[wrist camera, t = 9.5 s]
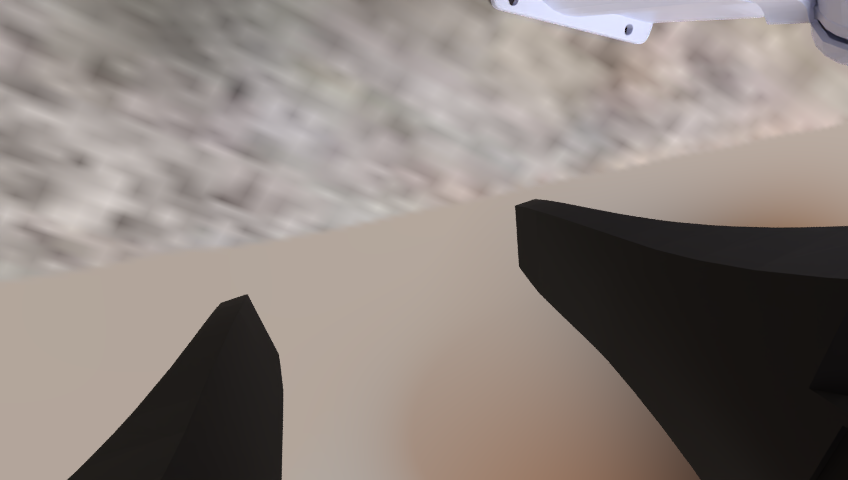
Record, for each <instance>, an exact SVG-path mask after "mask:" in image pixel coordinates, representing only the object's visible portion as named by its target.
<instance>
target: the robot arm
mask: <svg viewBox="0 0 848 480" xmlns="http://www.w3.org/2000/svg"><path fill="white" fill-rule="evenodd" d="M491 3H492V5H493V7H494V8H495V9H497V10H500V11H504V12H508V13H512V14H516V15H520V16H524V17H528V18H532V19H536V20H540V21H544V22H548V23H552V24H556V25H560V26H564V27H569V28H573V29H577V30H581V31H585V32H589V33H593V34H597V35H601V36H605V37H609V38H613V39H617V40H621V41H625V42H629V43H633V44H642V43H644V42H645V41H646V40H647V38H648V36H649V34H650V31H651V28H652V26H653V23H661V22H681V21H702V20H722V19H743V18H759V17H765V19H766V22H767V24H793V23H811V32H812V37H813V40H814V43H815V45H816V47H817V48H818V49H819V50H820V51H821V52H822V53H823V54H824V55H825V56H827V57H828V58H830V59H832V60H834V61H835V62H837V63H840V64H844V65H847V66H848V0H514V3H513V5H512V6H511V5H510V4H509V0H491ZM626 26H627V31H626V33H625V28H626ZM515 210H516V226H517V242H518V257H519V267H520V269H521V270H522V271H523V273H524V274H525V275H526V277H527V278H528V279H529V281H530V282H531V283H532V285H533V286H534V287H535V288H536V289H537V291H538V292H539V293H540V294H541V295H542V296H543V297H544V298H545V299H546V300H547V301H548V302H549V303H550V304H551V305H552V306H553V307H554V308H555V309H556V310H557V311H558V312H559V313H560V314H561V315H562V316H563V317H564V318H565V319H567V321H568V322H570V324H572V325H573V326H574V327H575V328H576V329H577V330H578V331H579V332H580V333H581V334H582V335H583V336H584V337H585V338H586V339H587V340H588V341H589V342H590V343H591V344H592V345H593V346H594V347H596V349H597V350H598V351H599V352H600V353H601V354H602V355H603V356H604V357H605V358H606V359H607V360H608V361H609V362H610V364H611V365H612V366H613V367H614V368H615V370H616V371H617V372H618V373H619V374H620V376H621V377H622V378H623V379H624V380H625V381H626V383H627V384H628V385H629V386H630V387H631V389H632V390H633V391H634V392H635V393H636V394H637V396H638V397H639V398H640V399H641V401H642V402H643V404H644V405H645V406H646V407H647V409H648V410H649V411H650V412H651V414H652V415H653V416H654V417H655V419H656V420H657V421H658V422H659V424H660V425H661V426H662V428H663V429H664V430H665V432H666V433H667V434H668V436H669V437H670V438H671V439H672V441H673V442H674V444H675V445H676V446H677V448H678V449H679V450H680V452H681V453H682V454H683V456H684V457H685V458H686V460H687V461H688V462H689V464H690V465H691V466H692V468H693V469H694V471H695V472H696V474H697V475H698V476H699V478H700V479H701V480H848V226H838V227H804V228H803V227H801V228H768V227H731V226H715V225H702V224H690V223H680V222H679V223H678V222H670V221H662V220H655V219H648V218H641V217H635V216H629V215H623V214H617V213H612V212H607V211H601V210H596V209H591V208H586V207H581V206H576V205H570V204H566V203H560V202H554V201H548V200H538V199H534V200H531V201H528V202H525V203H522V204H519V205H516V206H515ZM282 436H283V384H282V376H281V367H280V359H279V354H278V352H277V350H276V348H275V346H274V344H273V342H272V341H271V339H270V337H269V335H268V333H267V331H266V329H265V327H264V325H263V323H262V321H261V320H260V318H259V316H258V314H257V312H256V310H255V308H254V306H253V304H252V302H251V300H250V298H249V296H248V295H243V296H240V297H237V298H234V299H231V300H229V301H225V302H222V303H221V304H220V305H219V306H218V307H217V308H216V309H215V310H214V312H213V313H212V314H211V316H210V317H209V318H208V319H207V321H206V322H205V323H204V325H203V326H202V327H201V329H200V330H199V331H198V333H197V334H196V335H195V337H194V338H193V339H192V341H191V342H190V343H189V344H188V346H187V347H186V348H185V350H184V351H183V352H182V353H181V355H180V356H179V357H178V359H177V360H176V362H175V363H174V364H173V365H172V367H171V368H170V369H169V370H168V371H167V373H166V374H165V375H164V376H163V377H162V379H161V380H160V381H159V382H158V383H157V384H156V386H155V387H154V388H153V389H152V391H151V392H150V393H149V394H148V395H147V396H146V398H145V399H144V400H143V401H142V403H141V404H140V405H139V406H138V407H137V408H136V410H135V411H134V412H133V413H132V414H131V415H130V416H129V417H128V418H127V420H126V421H125V422H124V423H123V424H122V425H121V426H120V427H119V428H118V429H117V430H116V431H115V433H114V434H113V435H112V436H111V437H110V438H109V439H108V440H107V441H106V442H105V443H104V444H103V445H102V446H101V447H100V448H99V449H98V450H97V451H96V452H95V453H94V454H93V455H92V456H91V457H90V458H89V459H88V460H87V461H86V462H85V463H84V464H83V465H82V466H81V467H80V468H79V469H78V470H77V471H76V472H75V473H74V474H73V475H72V476H71V477H70V478H69V479H68V480H281V479H282V478H281V477H282Z"/></svg>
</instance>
